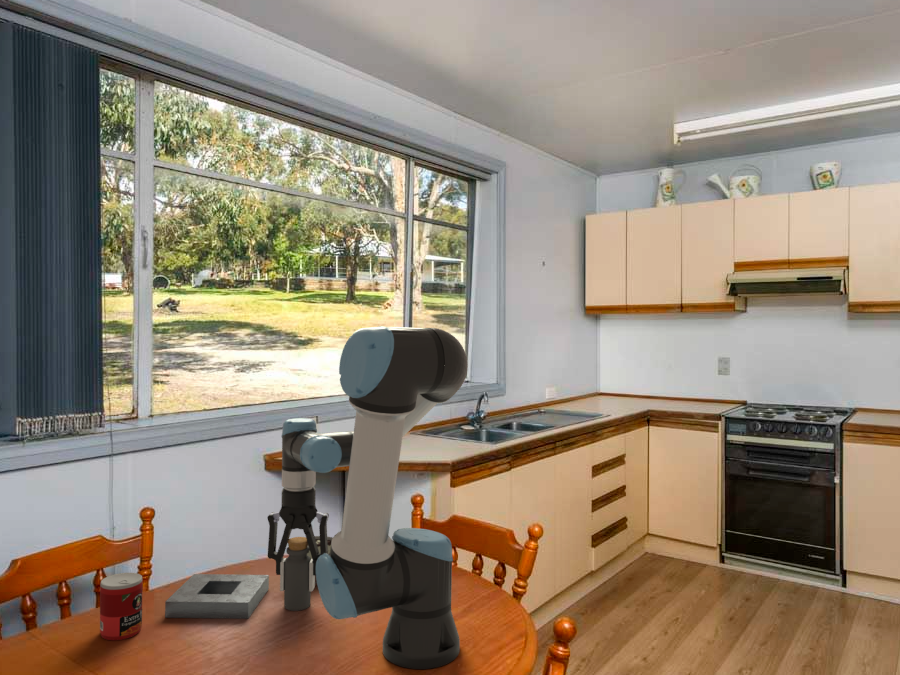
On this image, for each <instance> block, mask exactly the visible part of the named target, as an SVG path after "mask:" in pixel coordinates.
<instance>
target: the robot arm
mask: <svg viewBox="0 0 900 675" xmlns="http://www.w3.org/2000/svg"><path fill="white" fill-rule="evenodd" d="M339 359H340V360H339V367H338V372H339V373H338V375H340V377H339V383H340V386H341V389H342V391H343V392H344V394H345V395H346V396H348V402H349V404H350V405H351V406H352V407H353V409H354V410H355V411H356V412H355V419H354V428H353V430H348V431H338V432H336V431H335V432H326V433H325V432H324V433H323V432H322V433H318V430H317V423H316V421H315V420H314V419H312V418H305V417H304V418H301V417H300V418H299V417H298V418H289V419H286V420H285V421H284V422H283V424H282V433H281V487H282V489H281V507H280V509H279V511H277V512H274V511H273V512H270V514H268V515H267V521H268V524H269V526H268V527H269V530H268V542H267V543H268V544H267V546H268V547H267V558H268V559H270V560H271V559H272V560H274V561H275V574H276V576H279V581H280V582H279V591H280V592H284V573H285V559H286V558H287V557H284V556H285V553H286V550H287V546H288V540H289V539H290V537H291V533H292V530H296V529H298V530H302V531H303V533H304V535H305V537H306V539H307V542H308V546H309V549H310V552H311V556H312V559H311V561H310V562H309V591H311V592H313V591H314V589H315V586H316V585H317V589H318V593H319V596H320V597H319V598H320V599H321V602H322V604H323V606H324V608H325V610H326V611H327V613H328V614H329V615H330V617H331V618H333V619H335V620H344V619H351V618H353V619H355V618H357V617H359V616H363V615H367V614H370V613H374V612H378V611H382V610H386V609H390V608H391V613H390V616H389V619H388V622H387V626H386V628H385V631H384V635H383V638H382V654H383V656H384V658H385V659H386V660H387V661H389V662H390V663H392V664H394V665H395V666H398V667H401V668H405V669H415V670H426V669H427V670H428V669H435V668H440V667H443V666H445V665H448V664H450V663H451V662H453V661H454V660H455V659H456V658H457V657H458V656H459V654H460V647H461V646H460V643H461V642H460V639H461V638H460V635H459V633H458V629H457V626H456V623H455V619H454V617H453V616H454V615H453V612H452V583H453V582H452V580H453V579H452V577H453V576H452V575H453V573H452V572H453V571H452V569H453V561H454V558H453V548H452V547H453V546H452V542H451V540H450V538H449V537H448V536H446V535H445V534H443V533H441V532H439V531H434V530H431V529H426V528H418V527H405V528H398V529H396V530H395V531H393V534H392V538H391V537H390V536H389V534H390V532H389V531H390V527H391V518H392V512H393V507H394V506H393V505H394V499H395V493H396V492H395V491H396V485H397V477H398V471H399V464H400V456H401V451H402V450H401V449H402V443H403V442H402V441H403V437H405V435H407V433H409V432H410V431H411V430H412V429H413V428H414V427H415V426H416V425H417V424H418V422H420V421H421V420H422V419H423V418H425V416H426V415H427V414H428V413H429V412H430V411H431V410H432V409H433V408H434V407H435V406H437V404H443V403H446V402H448V401H450V399H451V398H452V397H453V396H454V395H456V393H457V392H458V391H459V390H460V389H461V387H462V386H463V384H464V383H465V380H466V376H467V375H468V370H469V369H468V366H469V365H468V357H467V354H466V350H465V349H464V347H463V345H462V343H461V342H460V341H459V340H458V338H456V337H455V336H454V335H453V334H451V333H450V332H449V331H445V330H444V329H440V328H435V327H404V326H403V327H400V326H396V327H395V326H394V327H393V326H383V325H380V326H377V327H363V328H362V327H361V328H359V329H357V330H356V331H354V332H353V333H352V334H351V336H349V338H348V339H347V341H346V342H345V344H344V346H343V348H342V352H341V354H340V358H339ZM342 467H348V473H347V484H346V490H345V497H344V498H345V499H344V504H343V505H344V507H343V514H342V523H341V530H340V531H338V532H337V533H335V534H334V536H332V537H333V538H332V542H331V549H330V553H328V543H327V537H328V526H327V525H328V524H327V523H328V520H329V517H330V515H329V513H328V512H325V513H323V512H320V511H318V508H317V507H316V494H317V492H316V488H315V486H316V484H317V480H316V477H317V474H316V473H321V474H327V473H329V472H331V471H333V470H335V469H336V468H342ZM280 518H281V520H282V521H283V523H284V524H285V527H284V530H283V534H282V537H281V540H280V543H279V546H278V550H277V538H278V522H279V521H280ZM315 518H317V523H318V524H319V526H318V527H319V536H320V553H319V550H318V547H317V543H316V540H315V536H316V535H315V534H314V529H313V524H312V523H313V521H314V519H315ZM315 575H316V580H317V583H315Z"/></svg>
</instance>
